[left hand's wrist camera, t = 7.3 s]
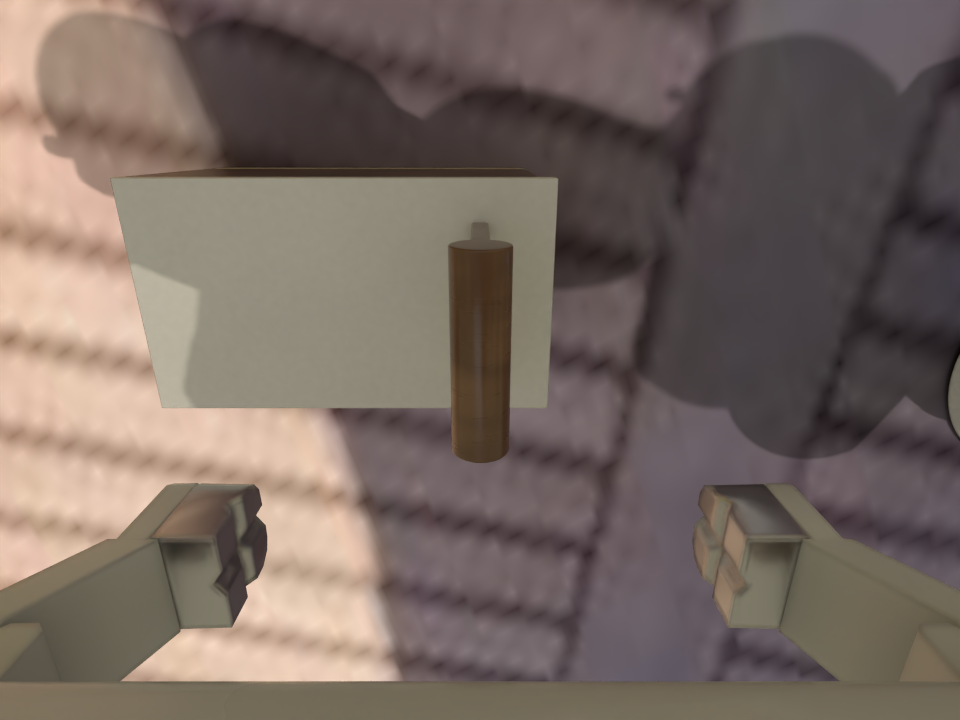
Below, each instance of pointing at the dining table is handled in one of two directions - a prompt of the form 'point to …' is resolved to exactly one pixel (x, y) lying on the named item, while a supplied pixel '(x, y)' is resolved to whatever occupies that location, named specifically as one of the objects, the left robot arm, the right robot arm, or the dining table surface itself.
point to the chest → (349, 172)
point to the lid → (348, 293)
